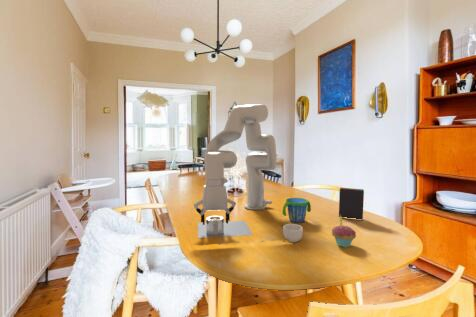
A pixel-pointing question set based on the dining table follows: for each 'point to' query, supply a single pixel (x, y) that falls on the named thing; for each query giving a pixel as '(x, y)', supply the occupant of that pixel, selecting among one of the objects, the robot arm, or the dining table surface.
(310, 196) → the dining table surface
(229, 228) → the stand
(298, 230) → the teacup
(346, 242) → the cupcake
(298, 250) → the dining table surface
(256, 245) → the dining table surface
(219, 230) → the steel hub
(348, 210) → the black upright rectangular panel
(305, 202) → the snack cup
